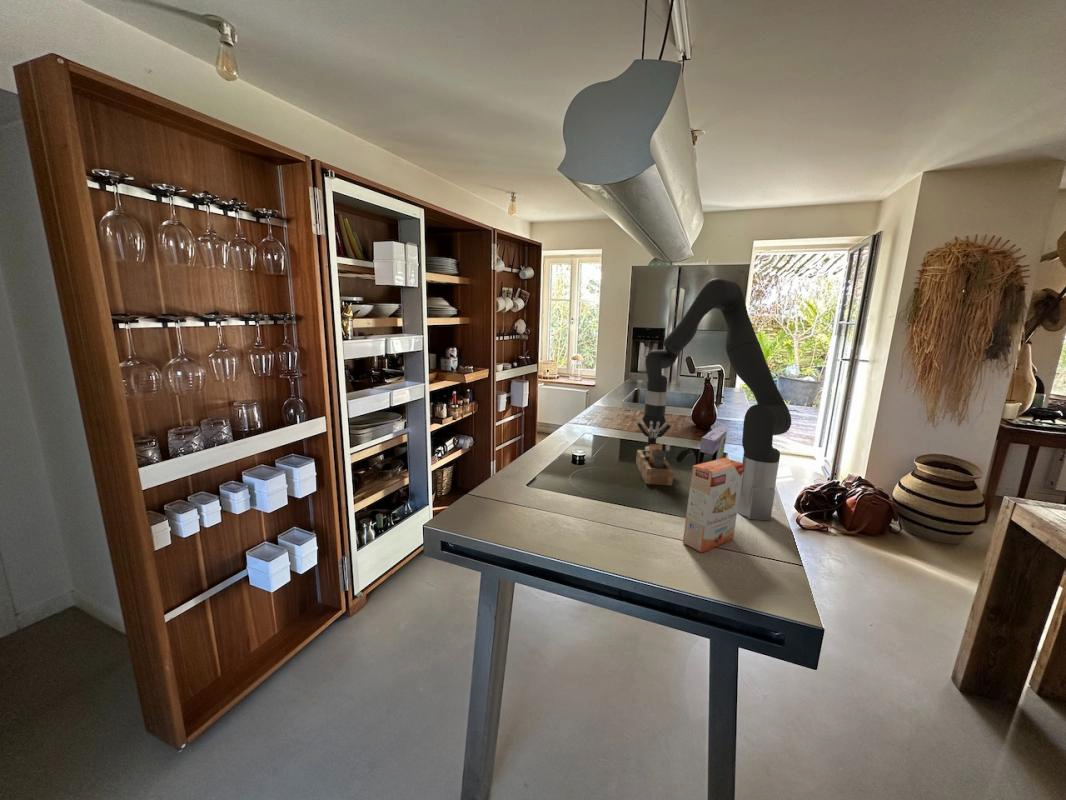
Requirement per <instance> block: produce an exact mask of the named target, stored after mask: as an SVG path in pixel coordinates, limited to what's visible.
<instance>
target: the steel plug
mask: <svg viewBox="0 0 1066 800" xmlns="http://www.w3.org/2000/svg"><path fill="white" fill-rule="evenodd" d="M644 450H645V452H646V456H650V450H649V446H648V445H647V446H645V447H644Z"/></svg>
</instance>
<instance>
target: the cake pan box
mask: <svg viewBox="0 0 1066 800" xmlns="http://www.w3.org/2000/svg"><path fill="white" fill-rule="evenodd" d="M727 433H728V430H727V429H722V428H717V427H714V429H712V430H711V431H709V432H707V433H706V434H705V435H703V436H702V437H701V440H700V445H699V452H698V459H697V460H698V461H697V464H701V463H706V462H710V461H714V460H718V459H722V458H724V452H725V446H726V440H727Z"/></svg>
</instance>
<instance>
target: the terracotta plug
mask: <svg viewBox="0 0 1066 800" xmlns="http://www.w3.org/2000/svg"><path fill="white" fill-rule="evenodd" d="M649 450H650V458H649V462H653V460H654V456H653V455H652V452H653V450H663V446H662V445H661V444H657V443H656V444H650V445H649Z"/></svg>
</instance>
